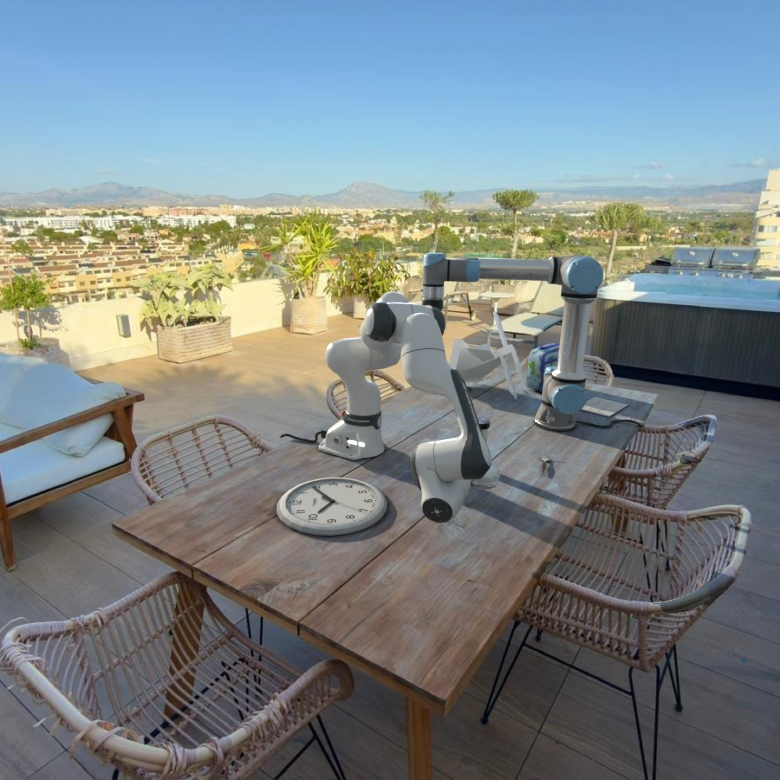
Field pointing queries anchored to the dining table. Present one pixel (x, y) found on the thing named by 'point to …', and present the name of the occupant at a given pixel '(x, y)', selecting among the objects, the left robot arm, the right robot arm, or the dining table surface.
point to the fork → (545, 460)
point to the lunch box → (541, 364)
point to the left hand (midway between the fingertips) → (465, 460)
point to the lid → (484, 423)
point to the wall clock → (331, 506)
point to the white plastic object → (486, 360)
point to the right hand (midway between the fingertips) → (430, 357)
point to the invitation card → (603, 406)
